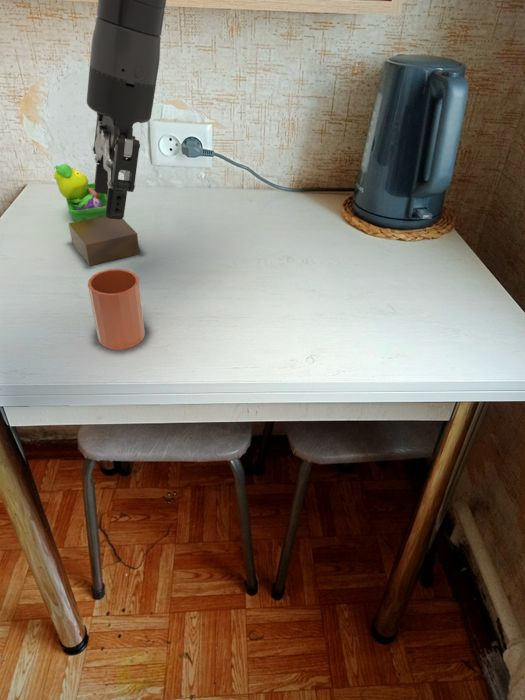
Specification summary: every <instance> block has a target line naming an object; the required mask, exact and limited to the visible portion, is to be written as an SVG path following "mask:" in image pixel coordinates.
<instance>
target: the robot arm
mask: <svg viewBox="0 0 525 700" xmlns="http://www.w3.org/2000/svg"><path fill="white" fill-rule="evenodd" d="M166 4H167V0H97V7H96V18H95V24H94V29H93V34H92V39H91V46H90V59H89V69H88V79H87V80H88V81H87V92H86V93H87V94H86V104H87V106H88V107H89V108H90V109H91V110H92V111H93V112H96V124H95V134H94V142H93V147H92V151H93V154H94V155H95V156H94V162H95V164H96V166H95V174H94V189H95V191H96V192H97V193H102V194H107V200H106V208H105V214H106V216H107V218H110V219H119V220H120V219H123V220H124V217H125V210H126V203H127V196H128V192H129V193H134V190H135V189H136V186H135V184H136V176H137V170H138V169H137V168H138V161H139V154H140V148H141V144H140V140H139V139H136V136H135V135H133V133H134V125H135V124H137V123H139V124H145V123H148V122H150V120H151V118H152V113H153V108H154V107H153V106H154V99H155V94H156V87H157V80H158V75H159V74H158V73H159V69H160V68H159V67H160V60H161V40H162V37H161V36H162V32H163V27H164V26H163V25H164V20H165V19H164V18H165V12H166ZM120 173H122V175H123V179H119V176H120Z"/></svg>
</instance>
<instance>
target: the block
mask: <svg viewBox="0 0 525 700" xmlns="http://www.w3.org/2000/svg"><path fill="white" fill-rule="evenodd" d="M68 229H69V234H70V239H71V244H72V245H73V246H74V248H75V249H76V250H77V252H78V253H79V254H80V256H81V257H82V258H83V260H84V261H85V263H86V264H87V265H88V266H89V267H91V266H96V265H100V264H103V263H104V264H105V263H107V262H113V261H116V260H121V259H124V258H129V257H132V256H136V255H139V254H140V247H139V238H138V237H139V236H138V232H136V231H135V230H134V229H133V228H132V226H131V225H130V224H128V223H127V221H126V220H125V219H124V218H123V219H120V220H119V219H110V218H107V216H102V217H97V218H92V219H87V220H82V221H77V222H75V221H73V222H69V223H68Z"/></svg>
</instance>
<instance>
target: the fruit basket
mask: <svg viewBox="0 0 525 700" xmlns="http://www.w3.org/2000/svg"><path fill="white" fill-rule="evenodd" d="M54 168H55V171H54V174H53V176H54V179H55V181H56V183H57V187H58V190H59V192H60V194H61V195H62V196H63V198H65V200H66V204H67V205H66V206H67V209H68V211H69V213H70V214H71V216H72V218H73V220H74V222H77V221H82V220H87V219H92V218H97V217H102V216H106V214H105V208H106V200H107V194H102V193H97V192H96V191H95V189H94V183H95V182H94V183H93V182H92V183H89V179H88V177H87V176H86V175H85V174H84V173H82V172H80V171H79V170H77V169H74V168H73V167H72V166H70V165H68V164H66V163H62V164H60V165H58V164H57V165H56V166H54Z"/></svg>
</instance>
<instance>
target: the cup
mask: <svg viewBox="0 0 525 700" xmlns="http://www.w3.org/2000/svg"><path fill="white" fill-rule="evenodd" d="M87 281H88V282H87V289H88V295H89V297H90V299H89V300H90V305H91V308H92V314H93V319H94V320H93V321H94V325H95V331H96V337H97V339H98V342H99V343H100V344H101V345H102V346H103V347H104V348H107V349H109V350H114V351H123V350H128V349H132V348H134V347H136V346H138V345H139V344H141V343H142V342H143V340H144V338H145V335H146V333H145V332H146V331H145V322H144V314H143V313H144V312H143V304H142V296H141V287H140V277H139V276H138V275H137V274H136V273H135V272H133V271H132V270H131V271H130V270H128V269H123V268H109V269H105V270H100V271H98V272H97V273H95V274H93V275H91V277H90V278H89V279H88V280H87Z"/></svg>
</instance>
